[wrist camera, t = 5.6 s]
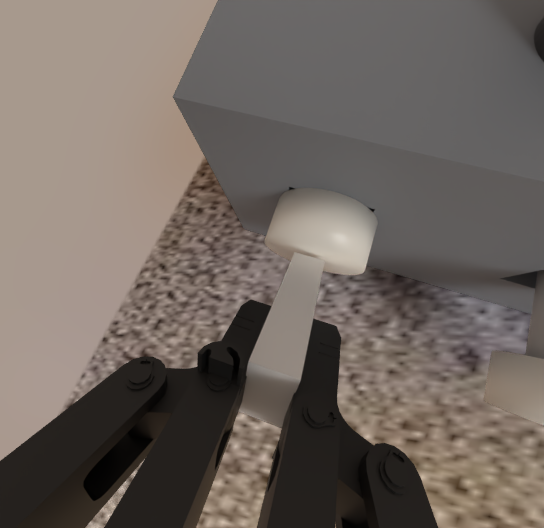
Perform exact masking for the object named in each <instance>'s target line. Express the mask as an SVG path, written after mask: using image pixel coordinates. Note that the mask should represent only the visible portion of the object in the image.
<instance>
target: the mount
mask: <svg viewBox="0 0 544 528" xmlns="http://www.w3.org/2000/svg"><path fill="white" fill-rule="evenodd" d="M543 17H544V0H218V2H217V3H216V6H215V8H214V10H213V12H212V14H211V16H210V19H209V21H208V23H207V25H206V27H205V29H204V31H203V33H202V35H201V38H200V40H199V42H198V44H197V46H196V48H195V50H194V53H193V55H192V57H191V59H190V61H189V64H188V65H187V68H186V70H185V72H184V74H183V76H182V78H181V80H180V83H179V85H178V87H177V89H176V91H175V94H174V95H173V98H174V100H175V102H176V104H177V106H178V107H179V109H180V111H181V113H182V115H183V117H184V119H185V120H186V122H187V124H188V126H189V128H190V130H191V131H192V133H193V135H194V137H195V139H196V141H197V143H198V144H199V146H200V148H201V150H202V152H203V154H204V156H205V157H206V159H207V161H208V163H209V165H210V167H211V169H212V170H213V172H214V174H215V176H216V178H217V180H218V182H219V183H220V185H221V187H222V189H223V191H224V193H225V195H226V196H227V198H228V200H229V202H230V204H231V206H232V208H233V209H234V211H235V213H236V215H237V217H238V219H239V220H240V222H241V224H242V226H243V228H244V229H245V230H249V231H252V232H256V233H259V234H262V235H267V232H268V229H269V226H270V223H271V221H272V218H273V215H274V212H275V209H276V206H277V203H278V201H279V198H280V196H281V195H282V194H283V193H284V192H286V191H288V190H291V189H296V188H318V189H324V190H329V191H333V192H337V193H340V194H343V195H346V196H348V197H351V198H353V199H355V200H357V201H359V202H360V203H362V204H363V205H365V206H366V207H368V208H369V209H370V210H371V211H372V212H373V213H374V214H375V216H376V218H377V222H378V224H377V228H376V231H375V235H374V239H373V242H372V246H371V250H370V253H369V257H368V261H367V264H366V265H367V266H370V267H374V268H377V269H380V270H384V271H387V272H391V273H394V274H397V275H401V276H404V277H407V278H411V279H414V280H418V281H421V282H424V283H428V284H431V285H434V286H438V287H441V288H445V289H448V290H451V291H455V292H458V293H461V294H465V295H468V296H472V297H475V298H478V299H482V300H485V301H488V302H492V303H495V304H499V305H502V306H505V307H509V308H512V309H515V310H519V311H522V312H526V313H529V314H531V313H532V307H533V300H534V293H535V286H536V279H537V273H538V271H539V270H544V62H543V60H542V59H541V58H540V56H539V55H538V53H537V51H536V48H535V44H534V34H535V30H536V28H537V26H538V24H539V23H540V21H541V20H542V19H543Z"/></svg>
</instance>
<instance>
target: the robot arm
mask: <svg viewBox="0 0 544 528" xmlns="http://www.w3.org/2000/svg"><path fill="white" fill-rule="evenodd" d="M324 263H325V261H324V260H320V259H317V258H313V257H310V256H306V255H303V254H299V253H296V252H295V253H294V255H293V257H292V260H291V262H290V264H289V267H288V269H287V271H286V274H285V276H284V279H283V281H282V283H281V286H280V288H279V290H278V293H277V295H276V297H275V300H274V302H273V305H272V306H269V305H266V304H263V303H260V302H257V301H254V300H249V301H248V302H246V303H245V304H243V305H242V306H241V307H240V309H239V311H238V313H237V314H236V317H235V318H234V320H233V321H232V323H231V325H230V326H229V328H228V330H227V332H226V333H225V335H224V337H223V339H222V340H221V341H218V342H212V343H210V344H208V345H206V346H204V347H203V348H202V349H201V350H200V351H199V352H198V367H195V368H189V369H174V368H165V365H164V364H163V363H162V362H161V360H159V359H156V358H154V357H140V358H136V359H133V360H131V361H129V362H128V363H126V364H124V365H123V366H122V367H120V368H119V369H118V370H117V371H115V372H114V373H113V374H111V375H110V376H109V377H108V378H106V379H105V380H104V381H102V382H101V383H100V384H99V385H97V386H96V387H95V388H93V389H92V390H91V391H90V392H88V393H87V394H86V395H84V396H83V397H82V398H81V399H79V400H78V401H77V402H75V403H74V404H73V405H72V406H70V407H69V408H68V409H66V410H65V411H64V412H63V413H61V414H60V415H59V416H57V417H56V418H55V419H54V420H52V421H51V422H50V423H49V424H47V425H46V426H45V427H43V428H42V429H41V430H40V431H38V432H37V433H36V434H34V435H33V436H32V437H31V438H29V439H28V440H27V441H25V442H24V443H23V444H21V446H19V447H18V448H16V449H15V450H14V451H13V452H11V453H10V454H9V455H7V456H6V457H5V458H4V459H2V460H1V461H0V528H85V527H86V526H87V525H88V523H89V522H90V521H91V520H92V519H93V518H94V516H95V515H96V514H97V513H98V512H99V511H100V510H101V508H102V507H103V506H104V505H105V504H106V503H107V501H108V500H109V499H110V498H111V497H112V496H113V495H114V493H115V492H116V491H117V490H118V489H119V488H120V486H121V485H122V484H123V483H124V482H125V481H126V479H127V478H128V477H129V476H130V475H131V474H132V473H133V471H134V470H135V469H136V468H137V467H138V466H139V464H140V463H141V462H142V461H143V460H144V459H145V460H144V462H143V463H142V465H141V467H140V468H139V470H138V472H137V474H136V475H135V477H134V479H133V480H132V482H131V484H130V485H129V487H128V489H127V490H126V492H125V494H124V495H123V497H122V499H121V500H120V502H119V504H118V505H117V507H116V509H115V510H114V512H113V514H112V515H111V517H110V519H109V521H108V522H107V524H106V526H105V527H104V528H196V526H197V523H198V521H199V518H200V515H201V513H202V510H203V507H204V505H205V502H206V499H207V497H208V494H209V492H210V489H211V486H212V484H213V481H214V478H215V476H216V473H217V470H218V468H219V465H220V462H221V460H222V457H223V455H224V452H225V449H226V447H227V444H228V441H229V439H230V436H231V433H232V431H233V425H234V421H235V419H236V416H237V414H238V411H239V412H241V413H243V414H246V415H249V416H251V417H254V418H256V419H259V420H262V421H264V422H267V423H270V424H272V425H275V426H277V427H280V428H282V430H281V434H280V439H279V442H278V444H277V447H276V449H275V452H274V454H273V456H272V459H273V462H272V467H271V471H270V475H269V479H268V483H267V488H266V492H265V496H264V500H263V504H262V509H261V513H260V517H259V521H258V525H257V528H335V522H336V528H438V526H437V523H436V520H435V517H434V515H433V512H432V509H431V506H430V503H429V501H428V498H427V495H426V492H425V489H424V487H423V484H422V481H421V478H420V476H419V474H418V472H417V470H416V468H415V466H414V464H413V463H412V462H411V461H410V459H409V458H408V457H407V456H406V454H405V453H403V452H402V451H400V450H399V449H398V448H396V447H395V446H392V445H389V444H386V443H381V444H375V445H372V444H371V443H370V442H368V441H367V440H366V439H364V438H363V437H362V436H360V435H359V434H358V433H356V432H355V431H354V430H353V429H352V428H351V427H350V426H349V425H348V424H347V423H346V422H345V420H344V419H343V417H342V415H341V413H340V412H339V408H338V405H337V389H338V374H339V359H340V345H341V337H340V334H339V332H338V329H337V327H336V326H334V325H331V324H328V323H325V322H322V321H319V320H316V319H313V317H314V312H315V307H316V302H317V298H318V293H319V288H320V283H321V278H322V273H323V268H324ZM146 456H147V457H146Z"/></svg>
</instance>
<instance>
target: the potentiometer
mask: <svg viewBox="0 0 544 528" xmlns="http://www.w3.org/2000/svg"><path fill="white" fill-rule="evenodd" d="M534 44H535V48H536V51H537V53H538V55H539V56H540V58H541V59H542V60H543V62H544V17H543V19H542V20H541V21H540V23H539V24H538V26H537V28H536V30H535V34H534Z"/></svg>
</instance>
